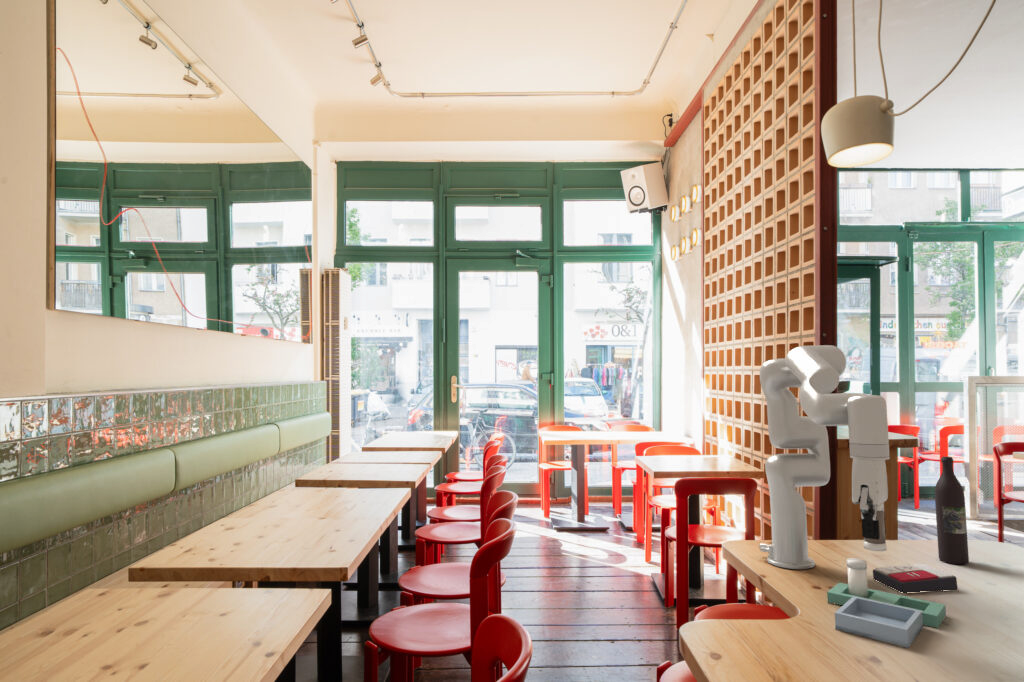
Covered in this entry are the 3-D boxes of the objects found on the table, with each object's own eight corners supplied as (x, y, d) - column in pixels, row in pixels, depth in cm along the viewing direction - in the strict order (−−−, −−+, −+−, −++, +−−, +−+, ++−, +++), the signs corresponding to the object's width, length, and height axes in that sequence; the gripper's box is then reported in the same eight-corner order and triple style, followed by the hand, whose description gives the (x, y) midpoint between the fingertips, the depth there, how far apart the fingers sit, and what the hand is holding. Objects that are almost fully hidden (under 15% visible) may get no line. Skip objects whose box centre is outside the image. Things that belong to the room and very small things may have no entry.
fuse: (846, 603, 144) (844, 560, 145) (851, 598, 147) (849, 556, 148) (865, 607, 141) (863, 564, 142) (871, 602, 144) (868, 560, 145)
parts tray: (835, 629, 130) (834, 612, 130) (854, 611, 139) (853, 596, 139) (908, 648, 120) (907, 630, 120) (923, 627, 130) (922, 610, 130)
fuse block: (827, 602, 145) (827, 591, 145) (839, 592, 151) (839, 582, 151) (937, 627, 129) (937, 616, 129) (946, 615, 136) (945, 604, 136)
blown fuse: (861, 548, 131) (858, 502, 131) (867, 544, 133) (864, 499, 134) (883, 552, 128) (880, 504, 128) (888, 548, 131) (886, 501, 131)
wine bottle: (942, 563, 172) (935, 458, 174) (936, 557, 179) (929, 455, 181) (972, 566, 169) (965, 459, 171) (964, 559, 176) (957, 455, 178)
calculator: (871, 566, 161) (923, 560, 162) (873, 583, 160) (925, 577, 162) (901, 580, 150) (956, 573, 151) (903, 597, 150) (958, 591, 151)
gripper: (861, 446, 141) (866, 526, 139) (838, 454, 129) (843, 541, 127) (898, 449, 135) (903, 531, 134) (878, 456, 123) (883, 547, 122)
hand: (874, 535), depth 131 cm, fingers closed on blown fuse, 4 cm apart
